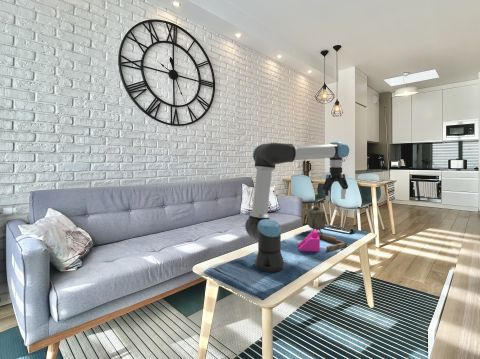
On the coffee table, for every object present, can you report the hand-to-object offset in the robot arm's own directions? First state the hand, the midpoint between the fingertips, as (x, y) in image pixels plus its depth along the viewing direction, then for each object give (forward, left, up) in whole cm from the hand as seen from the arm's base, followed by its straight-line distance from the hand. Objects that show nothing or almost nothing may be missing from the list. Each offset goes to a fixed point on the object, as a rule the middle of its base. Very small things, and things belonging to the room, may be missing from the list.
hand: (335, 199), depth 160 cm
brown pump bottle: (+7, +24, -29) cm, 38 cm away
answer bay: (-6, +3, -29) cm, 30 cm away
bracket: (-20, +3, -29) cm, 36 cm away
